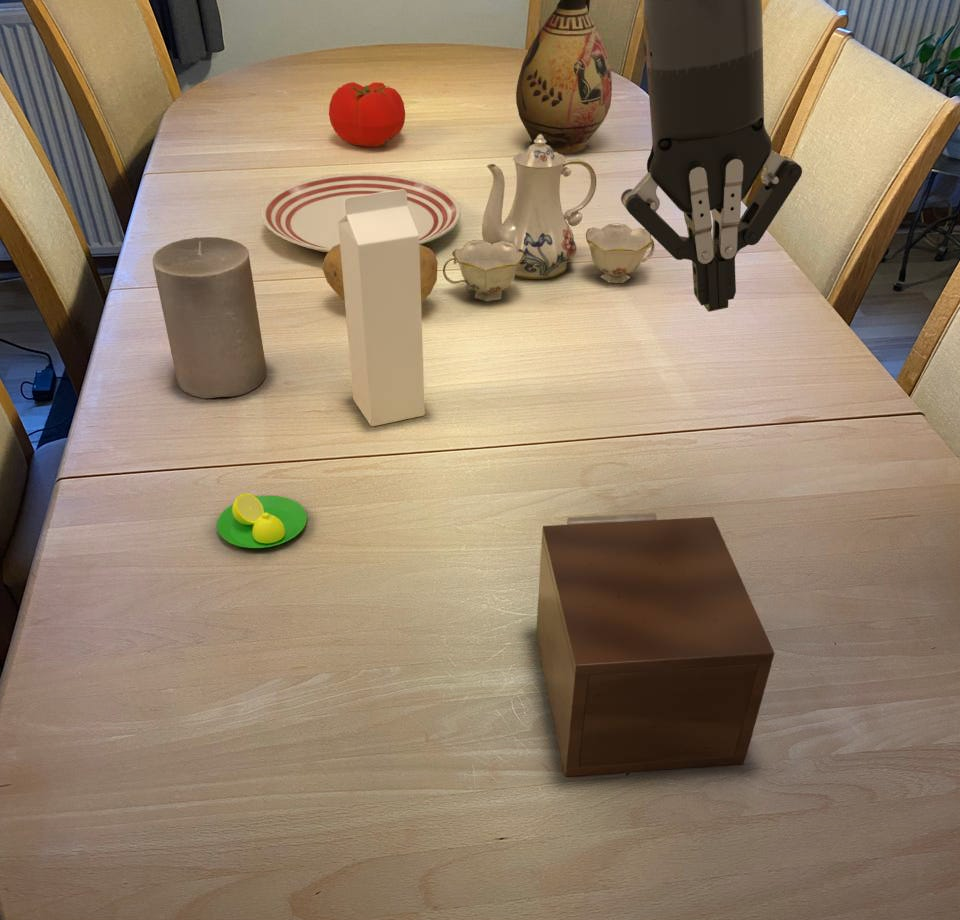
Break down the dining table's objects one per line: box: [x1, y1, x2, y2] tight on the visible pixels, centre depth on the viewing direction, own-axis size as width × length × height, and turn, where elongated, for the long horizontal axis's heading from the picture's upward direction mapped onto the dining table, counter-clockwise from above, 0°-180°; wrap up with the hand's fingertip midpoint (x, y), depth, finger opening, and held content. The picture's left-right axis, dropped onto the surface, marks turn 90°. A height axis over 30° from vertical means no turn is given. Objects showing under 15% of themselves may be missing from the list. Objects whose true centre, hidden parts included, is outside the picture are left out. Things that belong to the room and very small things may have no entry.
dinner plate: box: [260, 172, 462, 253], centre depth 143 cm, size 27×27×3 cm
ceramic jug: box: [515, 0, 613, 155], centre depth 162 cm, size 17×15×30 cm
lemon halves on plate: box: [216, 492, 308, 549], centre depth 92 cm, size 8×8×3 cm
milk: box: [338, 189, 426, 427], centre depth 101 cm, size 6×6×22 cm
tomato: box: [328, 81, 406, 148], centre depth 170 cm, size 14×13×9 cm
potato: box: [322, 244, 439, 304], centre depth 123 cm, size 10×14×8 cm
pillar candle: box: [152, 236, 268, 399], centre depth 108 cm, size 10×10×15 cm
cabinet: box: [535, 516, 775, 777], centre depth 74 cm, size 15×13×11 cm
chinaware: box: [442, 134, 655, 302], centre depth 128 cm, size 28×17×17 cm, turn 114°
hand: (715, 306), depth 78 cm, fingers closed
